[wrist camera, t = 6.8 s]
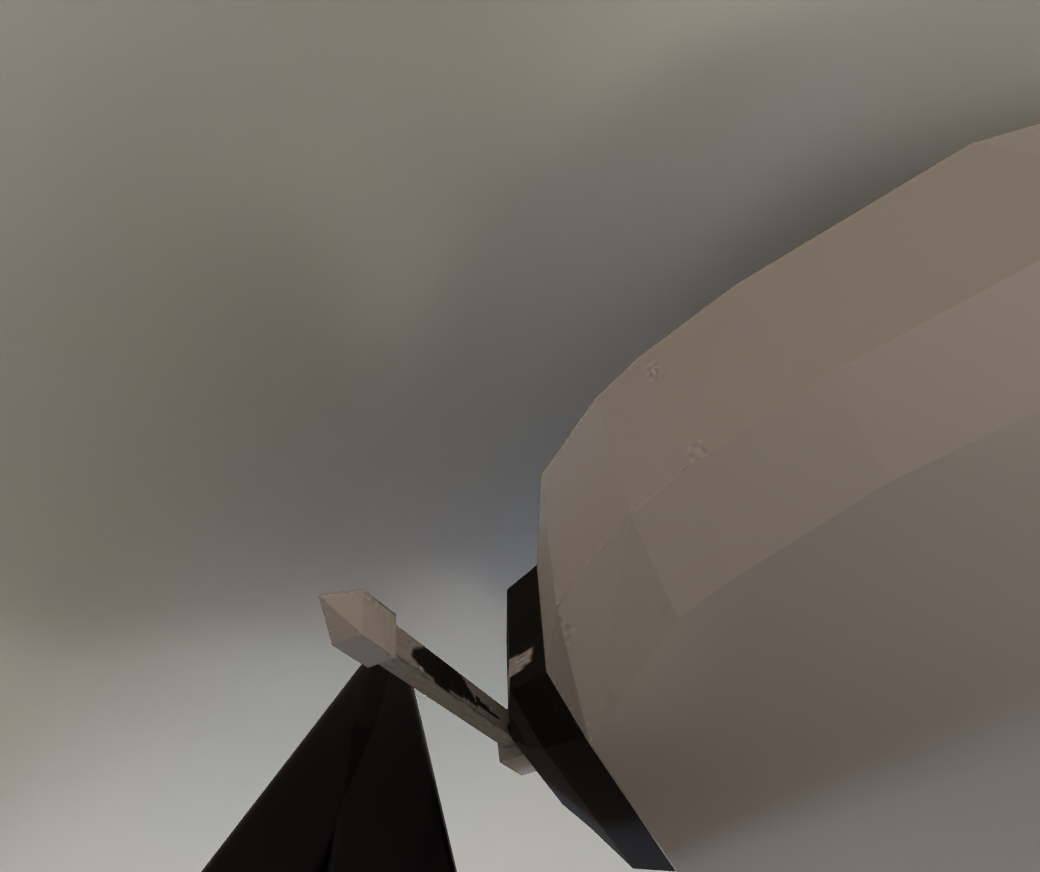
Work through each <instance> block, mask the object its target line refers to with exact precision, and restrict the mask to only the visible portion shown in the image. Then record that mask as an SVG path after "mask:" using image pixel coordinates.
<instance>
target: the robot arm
mask: <svg viewBox="0 0 1040 872" xmlns="http://www.w3.org/2000/svg"><path fill="white" fill-rule="evenodd" d="M202 872H457V870H456V866H455V862H454V857H453V853H452V849H451V845H450V840H449V836H448V832H447V828H446V823H445V819H444V815H443V811H442V806H441V802H440V798H439V794H438V789H437V785H436V781H435V776H434V772H433V768H432V764H431V759H430V755H429V751H428V747H427V742H426V738H425V734H424V730H423V725H422V721H421V717H420V713H419V708H418V704H417V700H416V696H415V691H414V687H412V686H411V685H409V684H408V683H406V682H405V681H403V680H402V679H400V678H399V677H397V676H396V675H394V674H393V673H391V672H390V671H388V670H387V669H385V668H384V667H382V666H381V665H379V664H377V665H374V666H371V667H369V668H367V667H366V666H364V665H363V664H361V666H360V667H359V668H358V670H357V671H356V672H355V673H354V675H353V676H352V677H351V679H350V680H349V681H348V683H347V684H346V685H345V686H344V688H343V689H342V690H341V692H340V693H339V694H338V695H337V697H336V698H335V699H334V701H333V702H332V703H331V705H330V706H329V707H328V708H327V710H326V711H325V712H324V714H323V715H322V716H321V718H320V719H319V720H318V721H317V723H316V724H315V725H314V727H313V728H312V729H311V730H310V732H309V733H308V734H307V736H306V737H305V738H304V740H303V741H302V742H301V743H300V745H299V746H298V747H297V749H296V750H295V751H294V752H293V754H292V755H291V756H290V758H289V759H288V760H287V762H286V763H285V764H284V765H283V767H282V768H281V769H280V771H279V772H278V773H277V774H276V776H275V777H274V778H273V780H272V781H271V782H270V784H269V785H268V786H267V787H266V789H265V790H264V791H263V793H262V794H261V795H260V797H259V798H258V799H257V800H256V802H255V803H254V804H253V806H252V807H251V808H250V809H249V811H248V812H247V813H246V815H245V816H244V817H243V819H242V820H241V821H240V822H239V824H238V825H237V826H236V828H235V829H234V830H233V831H232V833H231V834H230V835H229V837H228V838H227V839H226V841H225V842H224V843H223V844H222V846H221V847H220V848H219V850H218V851H217V852H216V854H215V855H214V856H213V857H212V859H211V860H210V861H209V863H208V864H207V865H206V866H205V868H204V869H203V870H202Z"/></svg>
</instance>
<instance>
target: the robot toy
mask: <svg viewBox="0 0 1040 872" xmlns="http://www.w3.org/2000/svg"><path fill="white" fill-rule="evenodd" d="M319 598H320V601H321V605H322V609H323V613H324V616H325V620H326V624H327V627H328V631H329V635H330V638H331V642H332V645H333V646H335V647H336V648H338V649H339V650H341V651H342V652H344V653H346V654H347V655H349V656H350V657H352V658H353V659H355V660H356V661H358V662H360V663H361V664H363V665H364V666H366V667H367V668H369V667H371V666H374V665H377V664H379V665H381V666H382V667H384V668H385V669H387V670H388V671H390V672H391V673H393V674H394V675H396V676H397V677H399V678H400V679H402V680H403V681H405V682H406V683H408V684H409V685H411V686H412V687H414V688H415V689H417V690H418V691H420V692H421V693H423V694H425V695H426V696H428V697H429V698H431V699H432V700H434V701H435V702H437V703H438V704H440V705H441V706H443V707H444V708H446V709H447V710H449V711H450V712H452V713H453V714H455V715H456V716H458V717H459V718H461V719H462V720H464V721H465V722H467V723H468V724H470V725H472V726H473V727H475V728H476V729H478V730H479V731H481V732H482V733H484V734H485V735H487V736H488V737H490V738H491V739H493V740H494V741H496V742H497V743H498V750H499V759H500V763H502V764H504V765H505V766H507V767H509V768H510V769H512V770H514V771H515V772H517V773H518V774H520V775H524V774H527V773H530V772H534V771H537V772H538V773H539V775H540V776H541V777H542V778H543V780H544V781H545V782H546V784H547V785H548V786H549V787H550V789H551V790H552V791H553V792H554V794H555V795H556V796H557V798H558V799H559V800H560V801H561V803H562V804H563V805H564V806H566V807H567V808H568V809H569V810H570V811H571V812H573V813H574V814H575V815H576V816H577V817H579V818H580V819H581V820H582V821H583V822H585V823H586V824H587V825H588V826H589V827H590V828H592V829H593V830H594V831H595V832H596V833H597V834H598V835H599V836H600V837H601V838H602V839H603V840H604V841H605V842H606V843H607V844H608V845H609V846H610V847H611V848H612V849H613V850H614V851H616V852H617V853H618V854H619V855H620V856H621V857H622V858H623V859H624V860H625V861H626V862H627V863H628V864H629V865H630V866H631V867H632V868H635V869H649V870H664V871H676V872H1040V123H1039V124H1036V125H1032V126H1029V127H1025V128H1022V129H1018V130H1015V131H1011V132H1008V133H1005V134H1001V135H998V136H994V137H991V138H987V139H984V140H981V141H977V142H974V143H971V144H969V145H967V146H966V147H964V148H962V149H961V150H959V151H957V152H956V153H954V154H952V155H951V156H949V157H947V158H946V159H944V160H942V161H941V162H939V163H937V164H936V165H934V166H932V167H931V168H929V169H927V170H926V171H924V172H922V173H921V174H919V175H917V176H916V177H914V178H912V179H911V180H909V181H907V182H906V183H904V184H902V185H901V186H899V187H897V188H896V189H894V190H892V191H891V192H889V193H887V194H886V195H884V196H882V197H881V198H879V199H877V200H876V201H874V202H872V203H871V204H869V205H867V206H866V207H864V208H862V209H861V210H859V211H857V212H856V213H854V214H852V215H851V216H849V217H847V218H846V219H844V220H842V221H841V222H839V223H837V224H836V225H834V226H832V227H831V228H829V229H827V230H826V231H824V232H822V233H821V234H819V235H817V236H816V237H814V238H812V239H811V240H809V241H807V242H806V243H804V244H802V245H801V246H799V247H797V248H796V249H794V250H792V251H791V252H789V253H787V254H786V255H784V256H782V257H781V258H779V259H777V260H776V261H774V262H772V263H771V264H769V265H767V266H766V267H764V268H762V269H761V270H759V271H757V272H756V273H754V274H752V275H751V276H749V277H747V278H746V279H744V280H742V281H741V282H739V283H737V284H736V285H734V286H733V287H731V288H730V289H729V290H727V291H726V292H725V293H723V294H722V295H721V296H719V297H718V298H717V299H715V300H714V301H713V302H711V303H710V304H709V305H707V306H706V307H705V308H703V309H702V310H701V311H699V312H698V313H697V314H695V315H694V316H693V317H691V318H690V319H689V320H687V321H686V322H685V323H683V324H682V325H681V326H679V327H678V328H677V329H675V330H674V331H673V332H671V333H670V334H669V335H667V336H666V337H665V338H663V339H662V340H661V341H659V342H658V343H657V344H655V345H654V346H653V347H651V348H650V349H649V350H647V351H646V352H645V353H643V354H642V355H641V356H639V357H638V358H637V359H636V360H635V361H634V362H633V363H632V364H631V365H630V366H629V367H628V368H627V369H625V370H624V371H623V372H622V373H621V374H620V375H619V376H618V377H617V378H616V379H615V380H614V381H613V382H612V383H611V384H609V385H608V386H607V387H606V388H605V389H604V390H603V391H602V392H601V393H600V394H599V395H598V396H597V397H596V398H595V399H594V400H593V402H592V403H591V404H590V406H589V407H588V409H587V410H586V412H585V413H584V414H583V416H582V417H581V419H580V420H579V422H578V423H577V424H576V426H575V427H574V429H573V430H572V432H571V433H570V435H569V436H568V437H567V439H566V440H565V442H564V443H563V445H562V446H561V447H560V449H559V450H558V452H557V453H556V455H555V456H554V457H553V459H552V460H551V462H550V463H549V465H548V466H547V467H546V469H545V470H544V472H543V473H542V475H541V486H540V510H539V533H538V556H537V565H536V566H535V567H534V568H533V569H532V570H530V571H529V572H528V573H527V574H525V575H524V576H523V577H522V578H521V579H519V580H518V581H517V582H516V583H515V584H513V585H512V586H511V587H510V588H509V589H507V678H508V709H507V710H506V709H505V708H504V707H503V706H501V705H500V704H499V703H497V702H496V701H495V700H493V699H492V698H491V697H489V696H488V695H487V694H486V693H484V692H483V691H482V690H480V689H479V688H478V687H476V686H475V685H474V684H472V683H471V682H470V681H469V680H467V679H466V678H465V677H463V676H462V675H461V674H459V673H458V672H457V671H455V670H454V669H453V668H452V667H450V666H449V665H448V664H446V663H445V662H444V661H442V660H441V659H440V658H439V657H437V656H436V655H435V654H433V653H432V652H431V651H429V650H428V649H427V648H425V647H424V646H423V645H422V644H420V643H419V642H418V641H416V640H415V639H414V638H412V637H411V636H410V635H408V634H407V633H406V632H405V631H403V630H402V629H401V628H399V627H398V626H397V625H396V614H395V613H393V612H392V611H391V610H389V609H388V608H387V607H386V606H384V605H383V604H382V603H381V602H379V601H378V600H377V599H375V598H374V597H373V596H372V595H370V594H369V593H368V592H367V591H365V590H364V589H363V590H355V591H348V592H341V593H334V594H326V595H319Z"/></svg>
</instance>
